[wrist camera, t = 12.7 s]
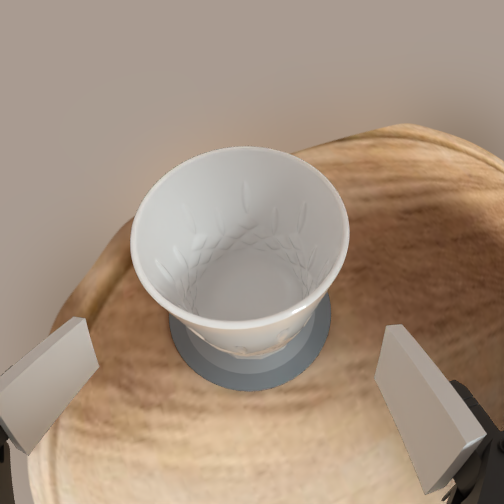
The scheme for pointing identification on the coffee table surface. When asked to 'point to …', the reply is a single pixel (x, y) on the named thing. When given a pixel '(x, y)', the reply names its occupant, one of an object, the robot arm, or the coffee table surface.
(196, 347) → the coaster
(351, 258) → the coffee table surface
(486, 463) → the robot arm
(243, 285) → the white cup
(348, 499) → the coffee table surface
